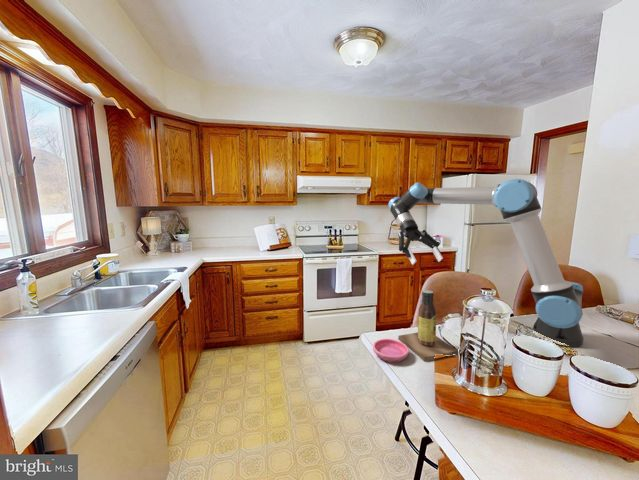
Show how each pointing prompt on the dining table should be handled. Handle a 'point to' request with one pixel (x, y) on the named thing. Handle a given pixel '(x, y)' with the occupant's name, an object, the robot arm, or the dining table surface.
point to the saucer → (390, 350)
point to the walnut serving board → (426, 347)
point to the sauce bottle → (427, 320)
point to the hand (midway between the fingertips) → (427, 261)
